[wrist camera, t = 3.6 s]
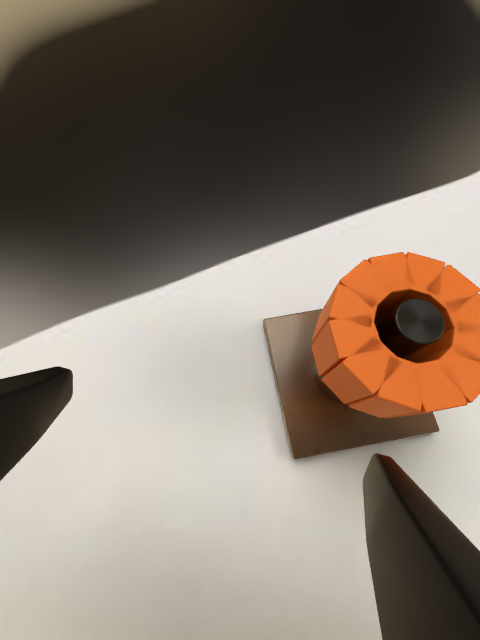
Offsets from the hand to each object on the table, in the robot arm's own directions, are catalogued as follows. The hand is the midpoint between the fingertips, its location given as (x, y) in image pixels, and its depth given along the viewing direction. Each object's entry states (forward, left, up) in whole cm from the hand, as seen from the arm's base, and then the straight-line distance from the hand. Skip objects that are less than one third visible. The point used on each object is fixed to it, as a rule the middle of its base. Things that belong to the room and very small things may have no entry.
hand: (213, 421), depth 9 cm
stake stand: (+3, -9, -14) cm, 17 cm away
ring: (+3, -9, -7) cm, 12 cm away
